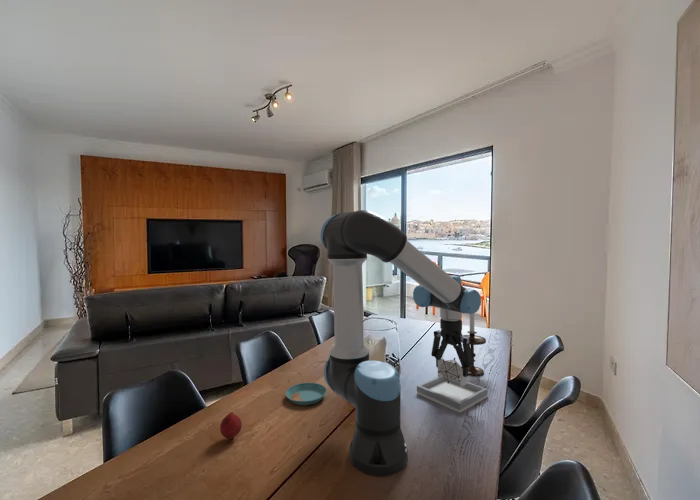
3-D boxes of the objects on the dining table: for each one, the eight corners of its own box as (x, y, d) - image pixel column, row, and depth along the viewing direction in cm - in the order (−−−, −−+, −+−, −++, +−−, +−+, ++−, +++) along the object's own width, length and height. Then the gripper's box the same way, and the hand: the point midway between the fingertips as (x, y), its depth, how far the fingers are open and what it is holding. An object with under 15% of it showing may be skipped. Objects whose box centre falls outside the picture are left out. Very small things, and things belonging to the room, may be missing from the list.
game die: (456, 393, 120) (467, 377, 114) (433, 383, 122) (443, 367, 116) (458, 373, 127) (469, 357, 121) (437, 363, 129) (446, 348, 123)
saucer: (277, 399, 121) (277, 392, 121) (308, 386, 132) (308, 379, 132) (303, 413, 111) (303, 405, 111) (335, 397, 122) (335, 390, 122)
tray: (460, 412, 109) (459, 403, 109) (416, 393, 123) (416, 385, 123) (487, 397, 120) (487, 388, 120) (444, 381, 134) (444, 373, 134)
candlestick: (481, 379, 135) (481, 292, 134) (455, 373, 142) (454, 290, 141) (489, 370, 144) (488, 289, 143) (463, 365, 150) (463, 287, 149)
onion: (229, 447, 93) (228, 418, 93) (216, 441, 96) (215, 413, 96) (246, 436, 98) (245, 409, 98) (233, 431, 101) (232, 404, 101)
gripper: (484, 322, 115) (485, 387, 115) (433, 312, 132) (433, 369, 132) (472, 326, 110) (473, 393, 111) (420, 315, 127) (421, 374, 128)
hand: (451, 380), depth 121 cm, fingers closed on game die, 9 cm apart
